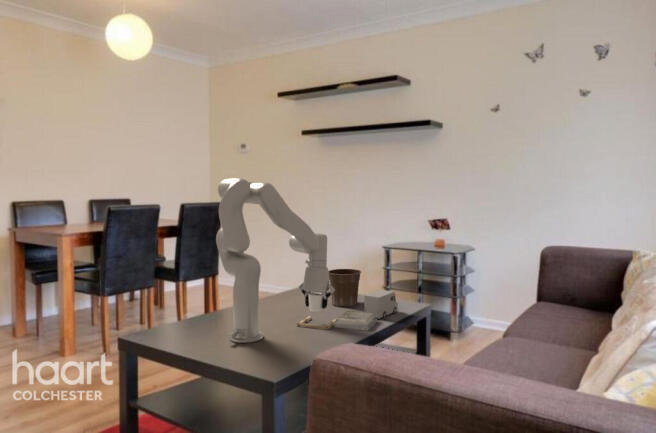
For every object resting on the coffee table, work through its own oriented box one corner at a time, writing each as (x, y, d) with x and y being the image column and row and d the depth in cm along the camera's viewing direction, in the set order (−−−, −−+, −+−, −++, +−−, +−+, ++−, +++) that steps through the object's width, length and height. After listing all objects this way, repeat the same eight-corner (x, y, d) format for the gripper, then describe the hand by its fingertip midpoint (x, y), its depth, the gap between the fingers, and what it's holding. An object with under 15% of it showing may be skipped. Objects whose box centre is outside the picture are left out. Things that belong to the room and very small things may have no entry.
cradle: (326, 329, 192) (326, 326, 192) (297, 326, 197) (297, 323, 197) (337, 321, 203) (337, 319, 203) (309, 318, 208) (309, 316, 208)
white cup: (313, 313, 195) (314, 295, 194) (304, 309, 200) (305, 292, 200) (327, 311, 199) (328, 294, 199) (318, 307, 204) (318, 291, 204)
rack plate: (367, 330, 191) (367, 321, 190) (334, 327, 196) (334, 318, 196) (377, 321, 204) (377, 312, 203) (345, 318, 209) (346, 309, 209)
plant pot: (320, 304, 234) (320, 271, 233) (344, 298, 245) (344, 267, 244) (343, 310, 222) (344, 275, 221) (368, 304, 233) (368, 271, 232)
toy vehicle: (399, 312, 219) (399, 290, 219) (379, 321, 205) (379, 297, 204) (382, 309, 224) (382, 288, 224) (362, 318, 210) (362, 295, 209)
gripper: (294, 263, 198) (293, 306, 199) (333, 266, 192) (332, 311, 193) (302, 261, 205) (300, 302, 206) (340, 264, 199) (339, 307, 200)
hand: (316, 306), depth 200 cm, fingers closed on white cup, 6 cm apart
